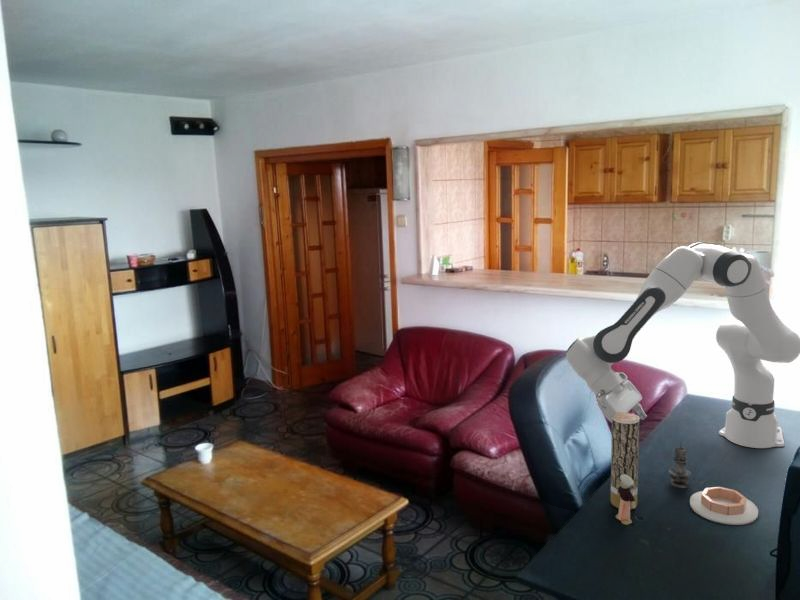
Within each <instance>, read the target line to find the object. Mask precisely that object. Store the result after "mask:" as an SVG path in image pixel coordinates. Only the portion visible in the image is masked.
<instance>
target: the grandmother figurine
mask: <svg viewBox="0 0 800 600" xmlns="http://www.w3.org/2000/svg"><path fill="white" fill-rule="evenodd" d="M620 480H621V481H620V487H619V489H618V493H617V496H620V506H619V508H618V513H617V514H616V515H615V518H616V519H617V520H618V521H620V522H621V524H622V525H626V526H627V525H629V524H632V523H633V521H632V519H631V509H630V502H631V505H632V508H633V509H636V508H637V506H635V499H634V497H633V495H632V493H631V491H630V489H629V487H630V486H631V485H633V484H634V482H633V480H632V479H631V477H630V476H628V475H625V474H622V475H621V476H620ZM633 509H632V510H633Z"/></svg>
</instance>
